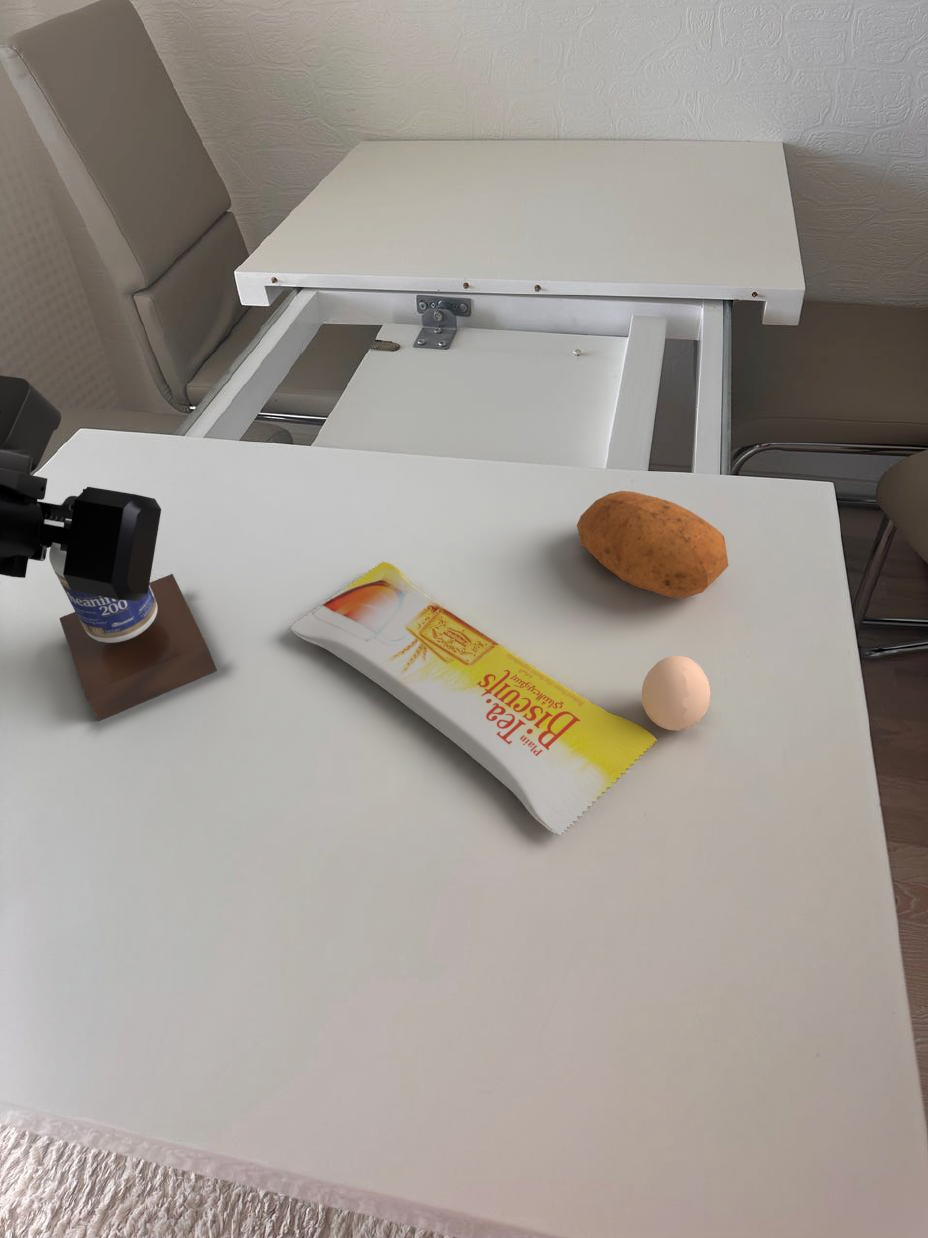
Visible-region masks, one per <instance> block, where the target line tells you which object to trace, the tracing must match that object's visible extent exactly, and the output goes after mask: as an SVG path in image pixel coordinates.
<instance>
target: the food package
mask: <svg viewBox="0 0 928 1238" xmlns="http://www.w3.org/2000/svg"><path fill="white" fill-rule="evenodd" d="M289 628H290V631H291V632H292V633H294V634H295V635H296V636H298V637H299V638H300V639H302V640H304V641H305V642H308V643H311V644H314V645H316V646H319V647H320V648H323V649H325V650H327V651H328V652H330V653H332V654H333V655H335V657H338V658H339V659H341V660H342V661H344V662H345V663H347V664H348V665H349V666H351V667H352V668H354V669H355V670H357V671H358V672H360V673H361V674H362V675H364V676H366V677H367V678H368V679H370V680H371V681H373V682H374V683H375V684H377V685H379V686H380V687H381V688H382V689H384V690H385V691H386V692H388V693H389V694H390V695H392V696H393V697H394V698H396V699H397V700H398V701H399V702H401V703H402V704H403V705H405V707H407V708H409V709H410V710H411V711H412V712H414V713H415V714H416V715H418V716H419V717H421V718H422V719H423V720H424V721H426V722H427V723H428V724H430V725H431V726H432V727H434V728H435V729H436V730H438V731H439V732H440V733H441V734H443V735H444V736H445V737H446V738H447V739H449V740H450V741H451V742H452V743H454V744H455V745H457V746H458V747H459V748H460V749H462V751H464V752H465V753H466V754H468V755H469V756H470V757H471V758H472V759H473V760H475V761H476V762H477V763H478V764H480V765H481V766H482V767H483V768H484V769H485V770H487V771H488V773H490V774H491V775H492V776H493V777H495V778H496V779H497V780H498V781H500V782H501V783H502V784H503V785H504V786H505V787H506V788H507V789H508V790H510V791H511V792H512V793H513V794H514V795H515V796H516V798H517V799H518V800H519V801H520V802H521V803H522V805H523V806H524V808H525V810H527V812H528V813H529V814H530V815H531V816H532V817H533V819H535V820H536V821H537V822H538V823H539V824H540V825H542V826H543V827H544V828H545V829H546V830H548V831H549V832H551V833H553V834H555V835H558V836H560V837H563V834H566V831H569V829H570V828H571V826H574V823H576V822H578V821H579V820H578V818H581V817H583V813H586V812H588V808H591V807H593V804H594V803H596V802H598V798H602V797H603V794H604V793H607V792H608V789H611V788H612V785H613V784H617V780H618V779H622V775H624V774H626V773H627V770H631V766H633V765H636V761H639V760H641V759H640V758H641V757H642V756H645V753H646V752H648V750H650V749H651V748H652V747H653V745H656V743H657V742H658V740H657V739H656V737H655V736H654V735H653V734H652V733H651V732H649V731H648V730H647V729H645V728H644V727H642V726H641V725H639V724H637V723H635V722H634V721H631V720H629V719H627V718H624V717H622V716H620V715H617V714H614V713H611V712H610V711H608V710H605V709H603V708H601V707H600V706H598V705H596V704H595V703H593V702H592V701H589V700H588V699H586V698H584V697H583V696H581V695H580V694H578V693H576V692H575V691H574V690H572V689H570V688H568V687H567V686H565V685H563V684H562V683H561V682H559V681H557V680H555V679H553V678H552V677H550V676H549V675H547V674H546V673H544V672H543V671H541V670H540V669H538V668H536V667H535V666H533V665H531V664H530V663H528V662H526V661H525V660H523V659H522V658H520V657H519V656H517V655H516V654H515V653H513V652H512V651H510V650H508V649H507V648H506V647H504V646H503V645H502V644H500V643H498V642H496V641H495V640H493V639H491V638H490V637H489V636H487V635H485V634H484V633H483V632H481V631H480V630H478V629H476V628H475V627H474V626H472V625H470V624H469V623H468V622H466V621H465V620H462V619H461V618H460V617H458V616H457V615H456V614H454V613H453V612H451V611H450V610H449V609H447V608H446V607H444V606H443V605H441V604H440V603H438V602H437V601H435V599H433V598H431V597H430V596H428V594H426V593H425V592H423V591H422V590H420V589H419V588H418V587H417V586H415V585H414V584H413V583H412V582H411V581H410V580H409V579H408V578H407V577H406V575H405V574H404V573H403V571H401V569H399V568H398V567H396V566H395V565H393V564H392V563H390V562H387V561H383V560H382V561H381V562H379V564H376V565H375V566H374V567H372V569H370V570H368V572H365V573H364V574H363V575H361V576H359V578H358V579H354V582H353V581H352V582H350V584H349V585H346V586H345V588H342V589H341V590H340V591H338V592H336V594H334V595H332V596H331V597H330V598H328V599H327V600H326V601H323V602H322V604H320V605H318V606H317V607H315V608H313V610H312V611H308V614H305V615H303V617H301V618H299V619H297V621H294V623H291V625H289Z"/></svg>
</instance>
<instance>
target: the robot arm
mask: <svg viewBox="0 0 928 1238" xmlns="http://www.w3.org/2000/svg"><path fill="white" fill-rule="evenodd" d="M61 421H62V413H61V411H60V410H59V409H58V408H57V407H56V406H55V405H54V404H53V403H52V402H50V400H48V399H47V398H46V397H45V396H44V395H43V394H42V393H41V392H40V391H39V390H38V389H37V388H36V387H34V386H33V385H32V384H31V383H30V382H29V381H28V380H27V379H25V378H22V377H18V376H17V377H16V376H7V375H0V575H1V576H5V577H10V578H21V579H26V577H27V569H28V564H29V560H32V561H36V562H37V561H38V562H44V561H46V557H47V552H48V549H50V548H51V545H52V543H57V544H61V546H60V551H64V552H67V553H66V559H65V565H64V572H63V575H64V577H65V579H66V581H67V583H68V585H69V587H70V589H71V591H76V592H81V593H86V594H91V595H96V596H101V597H106V598H111V599H116V600H126V601H139V600H140V599H142V598H143V597H144V596H145V595H147V594H148V589H149V583H150V582H151V577H152V570H153V563H154V557H155V551H156V545H157V539H158V533H159V527H160V520H161V515H162V508H161V506H160V504H159V503H158V501H157V499H155V497H149V496H145V495H141V494H137V493H136V494H135V493H129V492H124V491H118V490H111V489H107V488H99V487H93V486H87V487H86V488H83V489H82V492H81V493H80V494H79V495H78V496H77V495H69V496H67V497H66V498H65V499H64V501H63V502H62V503H63V504H61V503H60V504H61V505H59V504H56V503H50V502H44V501H42V500H45V498H46V491H47V485H48V478H46V477H42V476H36V475H33V474H31V473H32V472H34V471H35V470H36V469H37V468H38V466H39V465H40V463H41V461H42V458H43V456H44V454H45V451H46V449H47V447H48V445H49V442H50V440H51V438H52V436H53V435H54V434H53V433H54V432H55V431H56V430H58V428H59V427H60V424H61ZM38 500H40V501H38ZM66 518H67V519H71V520H72V521H71V520H66ZM45 520H51V521H56V522H62V523H64V527H61V526H55V525H50V524H44V521H45Z"/></svg>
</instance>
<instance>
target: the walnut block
mask: <svg viewBox="0 0 928 1238" xmlns="http://www.w3.org/2000/svg"><path fill="white" fill-rule="evenodd" d="M149 585H150V587H151V589H152V592H153V594H154V597H155V600H156V602H157V614H156V617H155V619H154V621H153V622H152V624H151V625H150V626H149V627H148V628H147V629H146V630H145V631H143V632H142V633H141V634H139V635H137V636H135V637H133V638H131V639H128V640H126V641H121V642H114V643H107V642H101V641H97V640H95V639H93V638H92V637H90V636H89V635H88V634H87V633H86V631H85V629H84V628H83V626H82V624H81V622H80V620H79V618H78V616H77V614H76V612H75V611H73V612H71V613H68V614H65V615H63V616H61V617H59V623H60V625H61V628H62V631H63V634H64V637H65V640H66V643H67V646H68V650H69V653H70V655H71V658H72V661H73V664H74V667H75V670H76V673H77V676H78V679H79V682H80V685H81V688H82V692H83V694H84V697H85V698H86V699H87V702H88V703H89V705H90V707H91V709H92V710H93V712H94V714H95V716H96V717H97V720H98V721H102V720H105V719H107V718H109V717H112V716H114V715H117V714H119V713H121V712H123V711H126V710H128V709H131V708H134V707H135V706H137V705H140V704H142V703H145V702H147V701H150V700H152V699H154V698H156V697H158V696H161V695H164V694H166V693H168V692H170V691H172V690H175V689H177V688H180V687H182V686H185V685H186V684H187V685H188V684H189V683H192V682H194V681H196V680H199V679H201V678H203V677H206V676H208V675H211V674H213V673H215V672H217V671H218V668H217V666H216V664H215V661H214V659H213V656H212V654H211V651H210V648H209V646H208V643H207V641H206V640H205V638H204V635H203V633H202V631H201V629H200V627H199V625H198V623H197V621H196V620H195V617H194V615H193V612H192V610H191V609H190V607H189V605H188V602H187V600H186V598H185V596H184V594H183V592H182V590H181V588H180V586H179V584H178V582H177V579H176V577H175V575H174V574H173V573H171V574H168V575H165V576H163V577H160V578H158V579H155V580H152V581H150V583H149Z"/></svg>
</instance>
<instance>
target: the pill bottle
mask: <svg viewBox="0 0 928 1238" xmlns="http://www.w3.org/2000/svg"><path fill="white" fill-rule="evenodd" d="M61 504H63V502H61V503H59V504H58V505H61ZM66 520H71V519H67V518H66ZM71 521H72V520H71ZM44 524H50V525H55V526H61V527H64V523H62V522H56V521H51V520H45V521H44ZM60 546H61V544H57V543H52V545H51V547H49V550H48V551H49V552H48V555H49V556H48V557H49V563H50V565H51V567H52V569H53V571H54V574H55V576H56V577H57V579H58V581H59V583H60V585H61V587H62V589H63V591H64V593H65V594H66V597H67V598H68V600H69V602H70V604H71V606H72V608H73V610H74V612H76V614H77V616H78V618H79V620H80V622H81V624H82V626H83V628H84V629H85V631H86V633H87V634H88V635H89V636H90V637H92V638H93V639H95V640H97V641H101V642H107V643H114V642H121V641H126V640H128V639H131V638H133V637H135V636H137V635H139V634H141V633H142V632H143V631H145V630H146V629H147V628H148V627H149V626H150V625H151V624H152V622H153V621H154V619H155V617H156V614H157V602H156V600H155V597H154V594H153V592H152V589H151V587H150V585H149V589H148V594H147V595H145V596H144V597H143V598H142V599H140V600H139V601H126V600H116V599H111V598H106V597H101V596H96V595H91V594H86V593H81V592H76V591H71V589H70V587H69V585H68V583H67V581H66V579H65V577H64V575H63V572H64V565H65V559H66V553H67V552H64V551H60Z"/></svg>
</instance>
